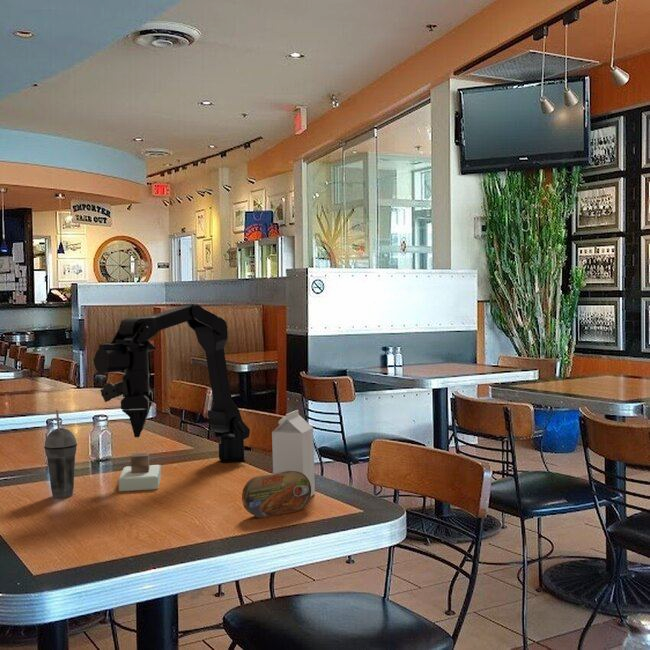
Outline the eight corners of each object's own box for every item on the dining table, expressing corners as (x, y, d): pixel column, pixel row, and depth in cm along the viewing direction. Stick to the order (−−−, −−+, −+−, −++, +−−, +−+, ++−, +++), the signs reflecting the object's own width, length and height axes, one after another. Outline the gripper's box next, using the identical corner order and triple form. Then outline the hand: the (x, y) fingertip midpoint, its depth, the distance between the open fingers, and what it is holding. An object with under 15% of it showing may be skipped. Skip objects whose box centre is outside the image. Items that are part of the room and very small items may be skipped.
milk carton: (315, 494, 181) (312, 409, 180) (304, 502, 174) (301, 414, 173) (285, 492, 183) (283, 409, 182) (273, 500, 176) (271, 413, 176)
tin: (247, 521, 161) (245, 479, 161) (240, 517, 164) (239, 476, 163) (312, 509, 168) (311, 469, 168) (305, 506, 171) (304, 466, 171)
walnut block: (149, 468, 198) (148, 452, 198) (148, 472, 194) (147, 455, 194) (132, 469, 198) (132, 453, 198) (131, 473, 194) (130, 456, 194)
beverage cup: (84, 491, 189) (80, 406, 188) (71, 499, 182) (67, 411, 181) (54, 492, 190) (50, 407, 189) (40, 499, 182) (36, 411, 182)
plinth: (161, 475, 204) (160, 464, 204) (158, 488, 190) (157, 476, 190) (124, 478, 202) (124, 466, 202) (118, 491, 189) (118, 478, 188)
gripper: (106, 367, 203) (108, 429, 204) (97, 374, 185) (99, 442, 185) (152, 366, 205) (153, 427, 205) (146, 372, 186) (149, 440, 187)
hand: (138, 434), depth 196 cm, fingers open, 9 cm apart
